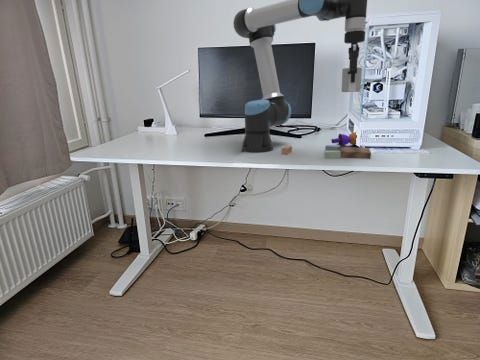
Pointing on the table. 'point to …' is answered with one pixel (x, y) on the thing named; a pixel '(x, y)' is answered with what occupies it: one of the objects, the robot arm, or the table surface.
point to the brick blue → (332, 148)
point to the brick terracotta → (286, 150)
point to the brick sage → (332, 154)
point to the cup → (346, 79)
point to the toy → (345, 139)
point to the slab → (355, 152)
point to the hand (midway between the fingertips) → (351, 91)
